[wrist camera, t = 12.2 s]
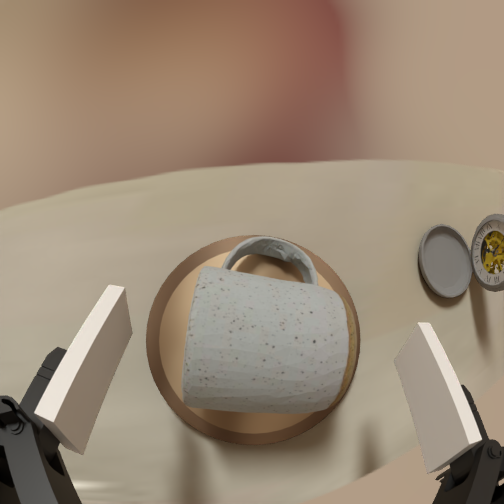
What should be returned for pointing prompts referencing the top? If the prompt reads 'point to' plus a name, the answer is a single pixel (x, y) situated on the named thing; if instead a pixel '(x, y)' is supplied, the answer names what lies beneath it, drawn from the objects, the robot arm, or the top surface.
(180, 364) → the brown round plate
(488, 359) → the top surface
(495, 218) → the pocket watch
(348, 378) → the ceramic mug
